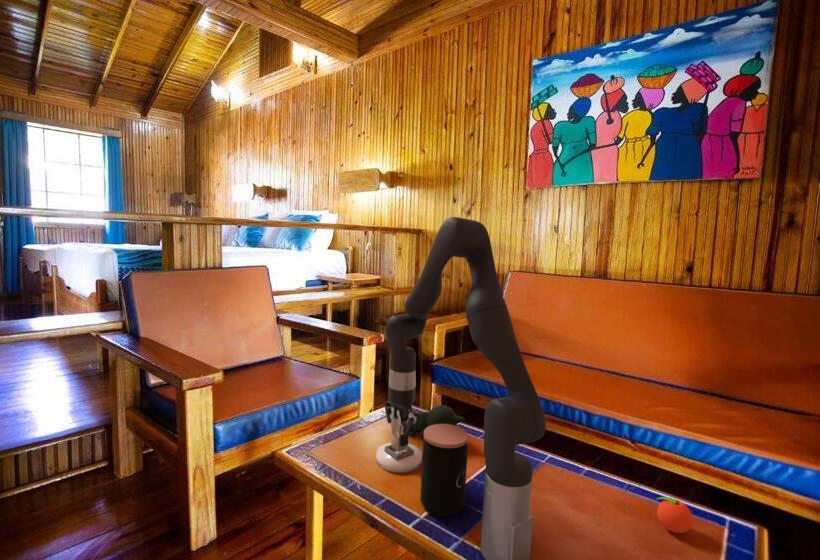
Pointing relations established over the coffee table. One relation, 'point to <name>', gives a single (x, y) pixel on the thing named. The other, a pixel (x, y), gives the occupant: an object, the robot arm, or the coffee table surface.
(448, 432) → the coffee jar
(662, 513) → the clementine
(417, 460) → the candle dish
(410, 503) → the coffee table surface
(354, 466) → the coffee table surface
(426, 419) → the toy figurine
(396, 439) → the wood grain block
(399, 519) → the coffee table surface
